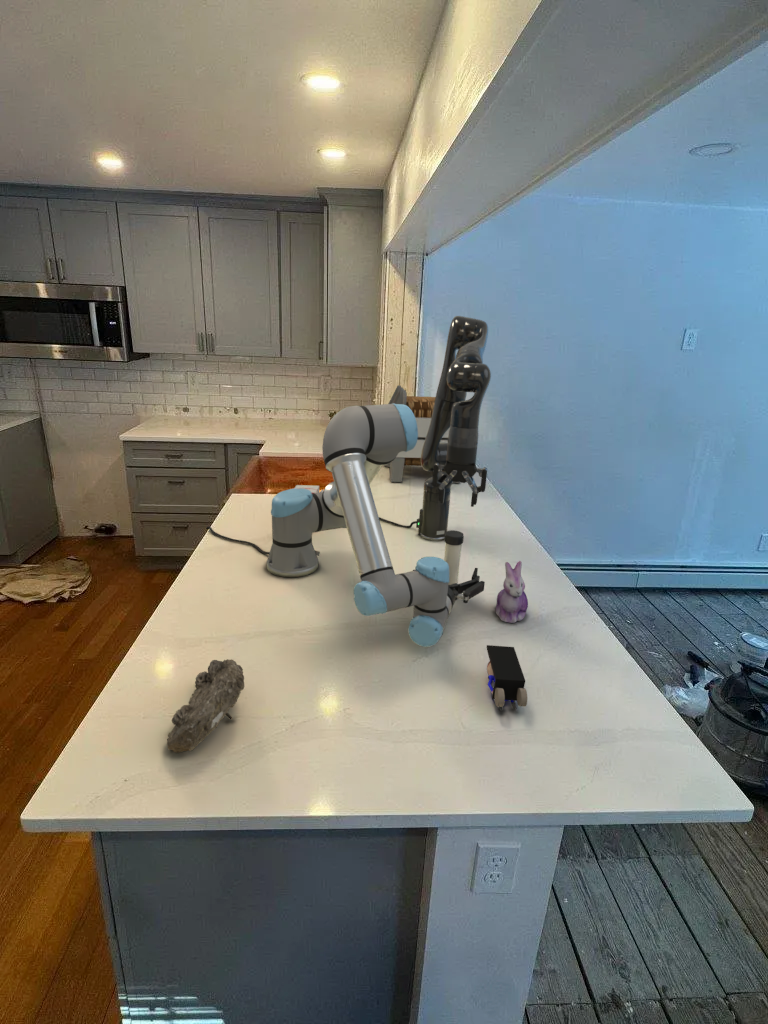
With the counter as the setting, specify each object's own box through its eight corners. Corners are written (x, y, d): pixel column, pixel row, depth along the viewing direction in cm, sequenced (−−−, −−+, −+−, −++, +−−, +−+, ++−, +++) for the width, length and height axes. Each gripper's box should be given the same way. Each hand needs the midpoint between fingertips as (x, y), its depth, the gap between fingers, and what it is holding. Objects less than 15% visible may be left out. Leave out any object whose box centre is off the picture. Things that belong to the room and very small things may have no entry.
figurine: (509, 627, 143) (516, 574, 138) (485, 609, 151) (491, 558, 146) (538, 620, 147) (546, 567, 142) (512, 602, 156) (519, 552, 151)
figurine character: (526, 722, 112) (510, 670, 126) (532, 694, 109) (515, 643, 122) (492, 722, 112) (480, 669, 125) (498, 693, 109) (484, 642, 122)
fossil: (192, 660, 117) (244, 628, 112) (224, 691, 120) (276, 661, 115) (142, 746, 98) (202, 712, 93) (182, 779, 101) (242, 748, 96)
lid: (466, 542, 154) (467, 534, 153) (455, 547, 150) (456, 538, 149) (451, 536, 157) (452, 528, 156) (440, 541, 153) (441, 533, 152)
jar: (459, 594, 159) (465, 535, 153) (450, 599, 156) (456, 539, 150) (447, 589, 162) (452, 531, 156) (438, 594, 159) (443, 535, 153)
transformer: (382, 463, 289) (386, 382, 275) (445, 464, 293) (451, 384, 279) (390, 482, 257) (394, 392, 243) (460, 483, 261) (468, 394, 247)
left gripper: (389, 607, 145) (410, 573, 164) (485, 626, 139) (495, 587, 158) (390, 581, 142) (411, 549, 162) (488, 598, 136) (498, 563, 155)
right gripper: (491, 442, 146) (485, 502, 152) (436, 437, 149) (432, 497, 155) (490, 449, 139) (483, 512, 145) (432, 443, 142) (428, 505, 148)
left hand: (453, 568), depth 160 cm, fingers open, 12 cm apart
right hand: (457, 504), depth 150 cm, fingers open, 7 cm apart
